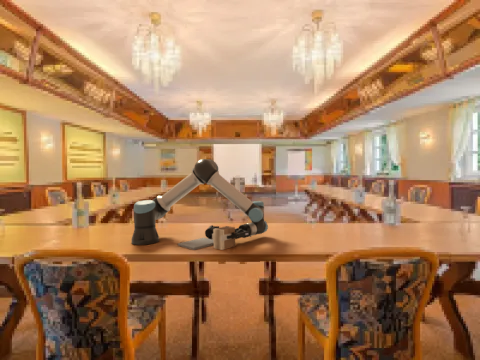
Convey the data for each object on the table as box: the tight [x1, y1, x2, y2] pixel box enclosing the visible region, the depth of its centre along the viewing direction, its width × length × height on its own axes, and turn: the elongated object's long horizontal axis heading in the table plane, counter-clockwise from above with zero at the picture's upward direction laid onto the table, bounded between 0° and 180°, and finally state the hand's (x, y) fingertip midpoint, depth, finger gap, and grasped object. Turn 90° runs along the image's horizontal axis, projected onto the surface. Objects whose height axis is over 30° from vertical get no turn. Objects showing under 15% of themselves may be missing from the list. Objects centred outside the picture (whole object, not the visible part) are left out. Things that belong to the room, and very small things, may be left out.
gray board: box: [177, 237, 214, 251], centre depth 159 cm, size 14×18×1 cm
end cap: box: [204, 224, 220, 240], centre depth 176 cm, size 10×7×7 cm
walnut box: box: [212, 225, 236, 251], centre depth 152 cm, size 6×10×10 cm
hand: (217, 237), depth 149 cm, fingers closed on walnut box, 6 cm apart
